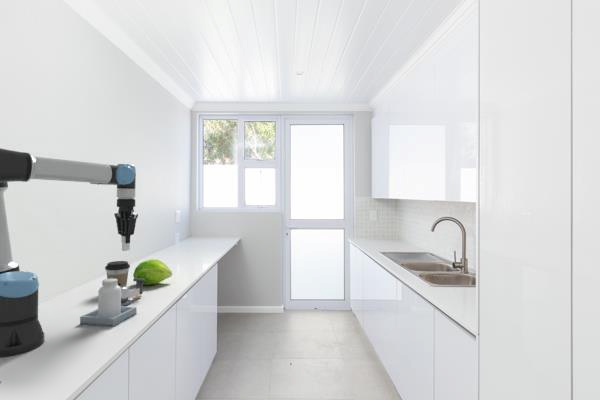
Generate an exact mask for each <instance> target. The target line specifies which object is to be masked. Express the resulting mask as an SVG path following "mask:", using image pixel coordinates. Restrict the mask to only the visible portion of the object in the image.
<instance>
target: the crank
mask: <svg viewBox="0 0 600 400" xmlns="http://www.w3.org/2000/svg"><path fill="white" fill-rule="evenodd" d="M133 282H135V287H134V288H131V289H129V286H128V285H126V286H122V287H120V288H121V303H123V302H127V301H128V300H130V299H131V298H132V299H133V297H135V296H138V295H143V290H144V289H143V286H144V285H143V282H146V279H139V278H134V277H133Z"/></svg>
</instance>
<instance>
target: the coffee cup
mask: <svg viewBox="0 0 600 400" xmlns="http://www.w3.org/2000/svg"><path fill="white" fill-rule="evenodd" d="M130 268H131V265H130V264H129V262H128V261H125V260H116V261H110V262H107V264H106V265H105V267H104V269H105V271H106V277H107V278H106V279H112V278H114V279H117V285H118V286H120V287H122V286H128V285H127V284H128V276H129V270H130Z"/></svg>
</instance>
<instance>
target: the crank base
mask: <svg viewBox="0 0 600 400" xmlns="http://www.w3.org/2000/svg"><path fill="white" fill-rule="evenodd" d="M140 297H142V294H140V295H137V296H134V297H132V299H138V298H139V299H140ZM131 303H132V301H131V300H130V299H128V301H127V302H123V303H121V306H126V307H128V306H130V305H131Z"/></svg>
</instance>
